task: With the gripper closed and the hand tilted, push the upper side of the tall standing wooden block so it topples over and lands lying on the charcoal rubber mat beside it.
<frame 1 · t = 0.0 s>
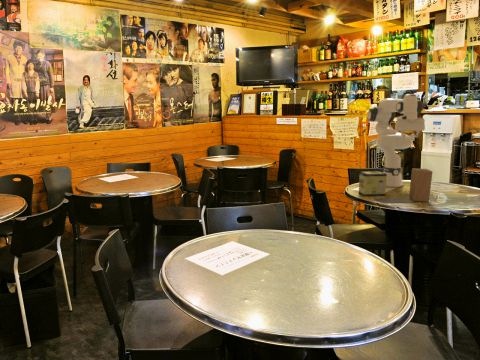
hand: (409, 137, 297), 39 cm above the table, tool pointing down, fingers open, 8 cm apart
mat: (394, 200, 277), on the table
protein box: (371, 194, 295), on the table
wooden block: (418, 200, 278), on the table, touching mat
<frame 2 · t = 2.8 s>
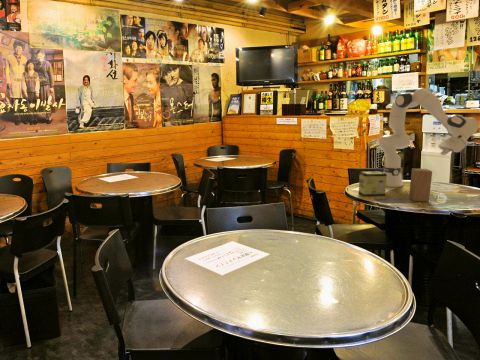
hand: (442, 154, 274), 30 cm above the table, tool tilted 45°, fingers closed
nothing on the table moved.
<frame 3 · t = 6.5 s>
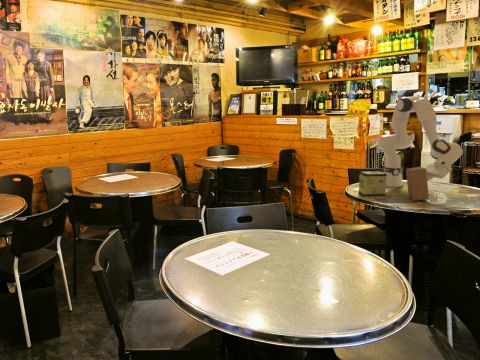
hand: (426, 179, 276), 13 cm above the table, tool tilted 45°, fingers closed
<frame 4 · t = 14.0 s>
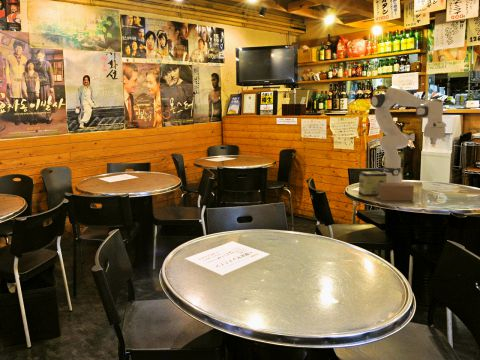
hand: (432, 144, 286), 35 cm above the table, tool pointing down, fingers closed
wooden block: (411, 191, 278), point 5 cm above the table, touching mat
everything else where it was.
at the end: wooden block tilted 90°; wooden block inside the target area (5.8 cm from its centre), point 5.3 cm above the table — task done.
